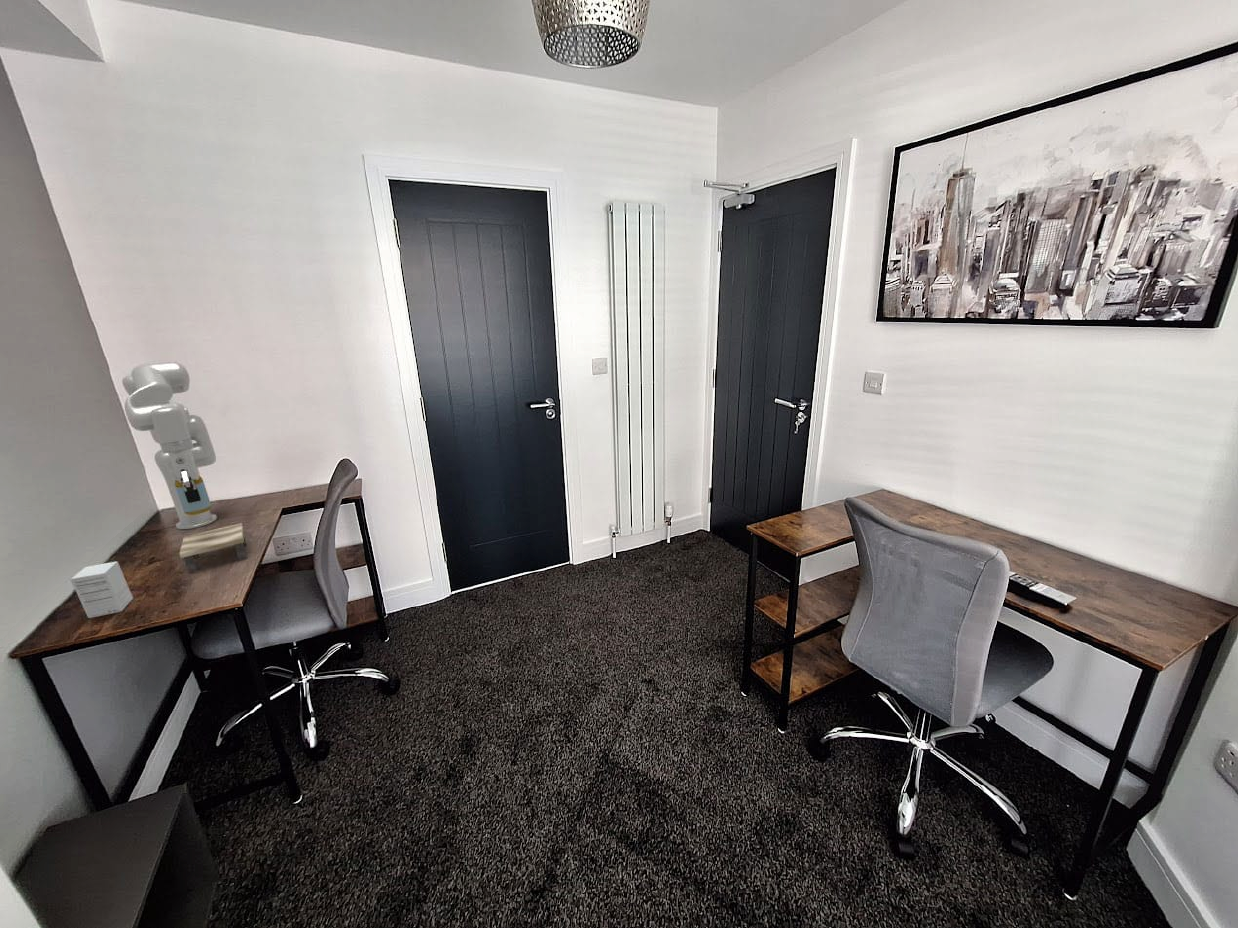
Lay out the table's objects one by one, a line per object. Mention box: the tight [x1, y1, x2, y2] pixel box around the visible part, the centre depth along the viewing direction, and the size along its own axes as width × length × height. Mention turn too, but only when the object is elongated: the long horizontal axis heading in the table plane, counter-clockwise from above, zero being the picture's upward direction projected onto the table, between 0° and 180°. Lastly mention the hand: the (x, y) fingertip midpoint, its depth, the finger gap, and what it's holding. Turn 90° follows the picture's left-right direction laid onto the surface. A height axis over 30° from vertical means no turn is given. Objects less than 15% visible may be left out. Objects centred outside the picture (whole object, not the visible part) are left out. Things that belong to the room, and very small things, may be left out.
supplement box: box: [69, 561, 134, 619], centre depth 136 cm, size 7×7×13 cm
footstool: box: [179, 522, 247, 574], centre depth 164 cm, size 16×16×8 cm
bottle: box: [172, 466, 213, 515], centre depth 158 cm, size 7×7×15 cm
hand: (194, 498), depth 159 cm, fingers closed on bottle, 6 cm apart
